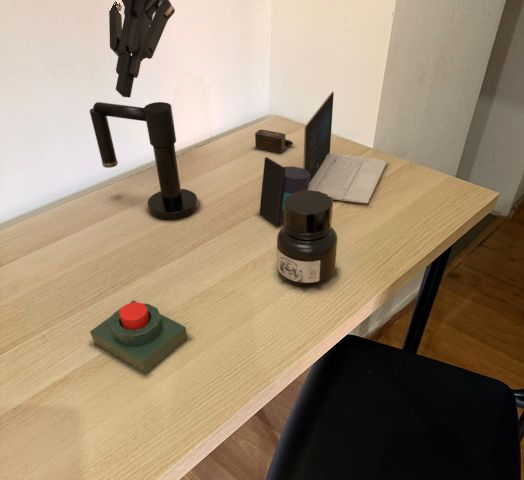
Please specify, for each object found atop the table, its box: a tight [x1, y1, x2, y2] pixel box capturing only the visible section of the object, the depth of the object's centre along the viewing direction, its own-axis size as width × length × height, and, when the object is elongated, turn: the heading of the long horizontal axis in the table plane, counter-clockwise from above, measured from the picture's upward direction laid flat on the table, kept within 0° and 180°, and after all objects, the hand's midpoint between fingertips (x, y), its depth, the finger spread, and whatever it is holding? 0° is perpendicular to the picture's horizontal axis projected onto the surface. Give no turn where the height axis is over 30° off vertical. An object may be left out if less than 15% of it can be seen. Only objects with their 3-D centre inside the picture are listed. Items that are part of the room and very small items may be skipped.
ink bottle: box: [276, 190, 338, 288], centre depth 79 cm, size 10×9×12 cm
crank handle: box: [89, 101, 177, 169], centre depth 91 cm, size 16×4×12 cm, turn 69°
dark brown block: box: [254, 129, 294, 154], centre depth 114 cm, size 5×7×3 cm, turn 62°
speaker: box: [258, 156, 311, 228], centre depth 91 cm, size 8×6×10 cm
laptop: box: [302, 90, 388, 204], centre depth 99 cm, size 18×12×13 cm
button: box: [119, 301, 149, 330], centre depth 69 cm, size 4×4×2 cm
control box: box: [89, 299, 188, 374], centre depth 71 cm, size 10×8×4 cm
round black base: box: [147, 144, 199, 221], centre depth 94 cm, size 9×9×12 cm
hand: (122, 93), depth 96 cm, fingers closed
